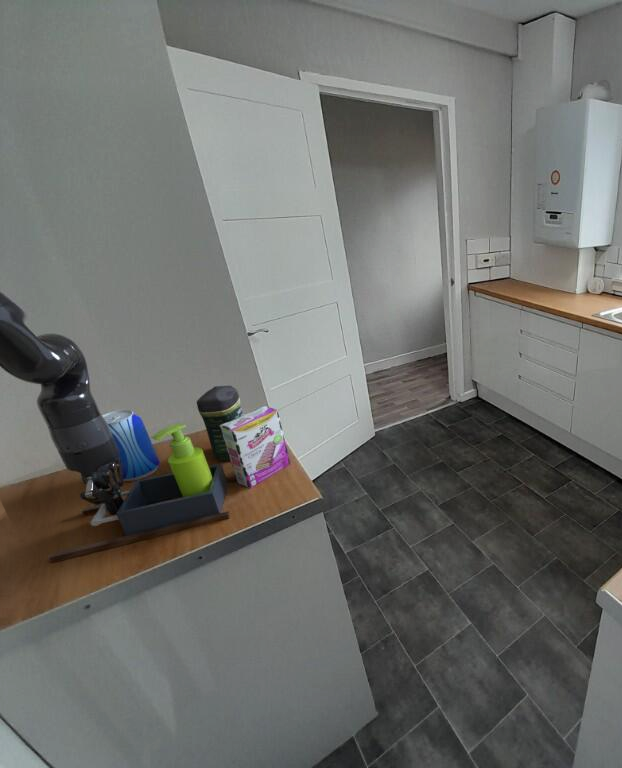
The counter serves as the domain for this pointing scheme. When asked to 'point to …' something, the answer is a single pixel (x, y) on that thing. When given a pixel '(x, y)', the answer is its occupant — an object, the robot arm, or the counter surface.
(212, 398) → the coffee jar
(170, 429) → the soap dispenser
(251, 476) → the candy bar box
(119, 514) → the tray
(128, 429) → the beer can
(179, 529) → the rails
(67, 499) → the counter surface
